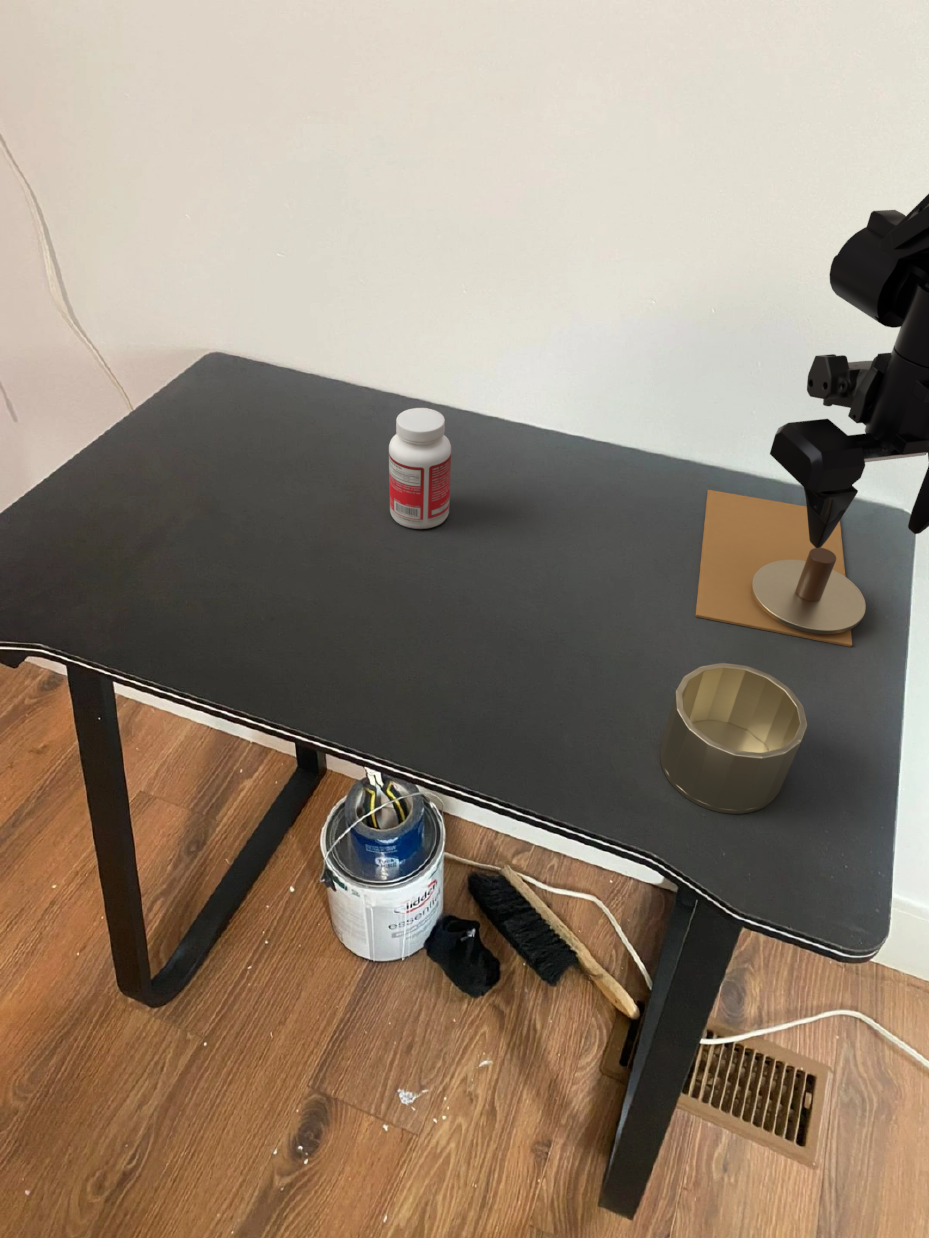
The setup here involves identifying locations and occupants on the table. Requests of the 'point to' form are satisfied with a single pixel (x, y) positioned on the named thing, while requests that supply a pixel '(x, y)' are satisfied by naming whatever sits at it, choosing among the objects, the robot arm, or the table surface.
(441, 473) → the pill bottle
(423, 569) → the table surface
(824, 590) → the lid
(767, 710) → the pot
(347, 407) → the table surface
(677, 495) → the table surface
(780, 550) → the mat
